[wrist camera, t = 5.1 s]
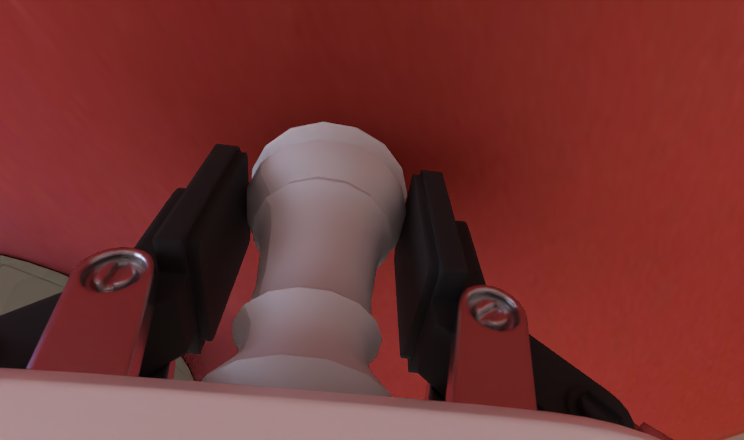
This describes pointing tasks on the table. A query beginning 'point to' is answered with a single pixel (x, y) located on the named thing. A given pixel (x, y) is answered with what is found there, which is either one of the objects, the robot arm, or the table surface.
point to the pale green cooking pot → (43, 293)
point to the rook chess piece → (317, 261)
